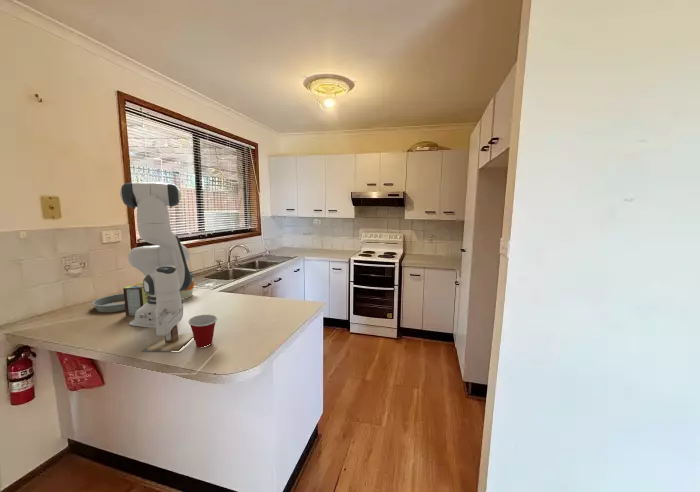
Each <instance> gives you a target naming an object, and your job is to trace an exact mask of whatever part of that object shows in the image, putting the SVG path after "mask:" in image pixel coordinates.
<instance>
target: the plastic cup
mask: <svg viewBox="0 0 700 492" xmlns="http://www.w3.org/2000/svg"><path fill="white" fill-rule="evenodd" d="M217 321H218V317H217V316H216V315H213V314H199V315H195V316H192V317H191V318H190V319H189V320H188V325H190V328H191V331H192V334H193V336H194V343H195V346H196V347H197V348H198V347H204V346H207V345H209V344H211V343H212V344H213V338H214V333H215V326H216V322H217ZM212 344H211V345H212Z"/></svg>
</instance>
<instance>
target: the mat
mask: <svg viewBox="0 0 700 492" xmlns="http://www.w3.org/2000/svg"><path fill="white" fill-rule="evenodd" d="M162 337H163V336H160V338H162ZM152 344H153V343H151V344H150V345H152ZM150 345H148V346H147V347H149V346H150ZM140 353H172V352H171V351H146V348H144V349H142V351H140Z"/></svg>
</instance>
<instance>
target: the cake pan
mask: <svg viewBox="0 0 700 492" xmlns="http://www.w3.org/2000/svg"><path fill="white" fill-rule="evenodd" d="M123 301H124V292H123V293H117V294H116V293H115V294H112V295H107V296H103V297H100V298H97V299H95V300H93V301H92V303H91V305H93V306H94V307H95V310H96V311H97V312H99V313H113V312H121V311H126V310H125V301H124V302H123ZM117 302H118V303H117ZM119 302H120V303H119Z"/></svg>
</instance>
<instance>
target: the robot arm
mask: <svg viewBox="0 0 700 492" xmlns="http://www.w3.org/2000/svg"><path fill="white" fill-rule="evenodd" d="M178 187H179V186H177V185H176V183H175V184H174V183H170V182H168V183H165V182H158V181H157V182H156V181H150V182H149V181H148V182H126V183H123V185H122V186H121V188H120V190H119V196H120V200H121V201H122V203H123V204H124V205H125V206H127V207H128V208H132V210H136V223H137V224H136V225H137V231H138V235H139V237H140V239H142V240H143V241H145V242H147V243H149V244H150V245H143V246H138V247H133V248H132V249H130V251H129V253H128V256H127V261H128V263H129V265H131V266H132V267H133V268H135V269H137V270H139V272H141V274H143V275H144V276H145V277H144V278H143V279H142V281H143V286H144V291H145V292H146V293H148V294H150V295H149V296H148V297H146V299H148V301H147V303H146V304H144V305H143V306H142V307H141V308H139V309H138V310H137V311H136V313H135V316H134V318H133V319H132V320H131V321H130V322H129V325H128V326H134V327H143V328H155V334H156V336H157V337H163V336H166V340H171V338H172V335H171V333H170V332H171V330H172V328H173V327H174V326H178V323H179V322H180V321H181V320H182V318H183V317H184V303H185V298H181V296H180V293H179V291H183V290H187V289H188V288H189V286H190V285H191V284H192V276H191V274H190V272H191V271H190V269H189V267H188V264H187V263H188V262H189V261H190V258H191V254H190V250H189V249H188V248H187V247H186V245H183V244H182V243H181V240H180V238H179V236H178V235H177V234H175V233H173V230H172V228H171V222H170V221H171V219H170V212H169V208H170V209H171V208H173V207H175V206H177V205H179V204H180V201H181V198H182V195H181V190H180V189H179V188H178ZM168 207H169V208H168ZM146 299H145V300H146Z"/></svg>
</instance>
